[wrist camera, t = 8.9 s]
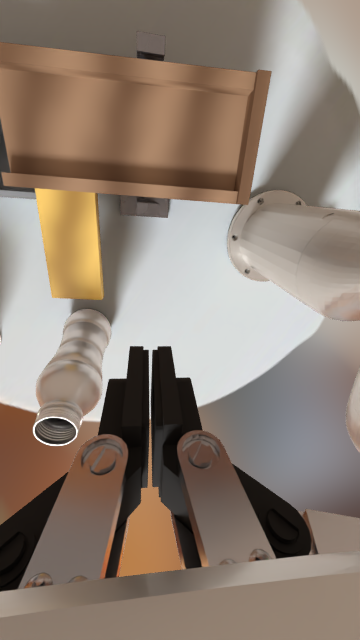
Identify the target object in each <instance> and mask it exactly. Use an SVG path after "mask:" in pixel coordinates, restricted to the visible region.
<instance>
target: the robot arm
mask: <svg viewBox="0 0 360 640" xmlns="http://www.w3.org/2000/svg"><path fill="white" fill-rule="evenodd" d="M258 199H259V203H258V202H257V201H258ZM295 204H296V205H295ZM233 235H234V238H232V236H233ZM227 249H228V255H229V258H230V260H231V263H232V264H233V266H234V267H235V269H236V270H238V271H239V272H240V273H241V274H242V275H243V276H245V277H247V278H249V279H251V280H255V281H271V282H273V283H274V284H276V285H277V286H279V287H280V288H282V289H283V290H284V291H286V292H287V293H289V294H290V295H292V296H293V297H295V298H296V299H298V300H299V301H301V302H302V303H304V304H305V305H307V306H308V307H310V308H311V309H313V310H314V311H316V312H317V313H319V314H321V315H323V316H325V317H328V318H330V319H334V320H340V321H358V320H360V211H356V210H345V209H335V208H325V207H315V206H307V205H306V204H305V202H304V201H303V200H302V199H301V198H300V197H299V196H297V195H295V194H293V193H291V192H288V191H283V190H272V191H266V192H263V193H260V194H258V195H256V196H254V197H253V198H251V199H250V200H249V204H248V205H243V206H242V207H241V208H240V210H239V211H238V212H237V213H236V215H235V217H234V219H233V220H232V223H231V225H230V228H229V232H228V237H227ZM245 270H246V271H245ZM346 426H347V430H348V433H349V436H350V438H351V440H352V442H353V443H354V445H355V447H356V448H357V450H358V451H359V452H360V368H359V371H358V373H357V376H356V379H355V382H354V385H353V387H352V391H351V394H350V397H349V401H348V404H347V408H346ZM151 436H152V483H153V485H152V486H153V487H159V497H161V502H162V503H163V504H164V505H165V506H166V507H167V508H168V509H169V510H170V511H171V519H172V524H173V528H174V534H175V538H176V543H177V548H178V553H179V557H180V562H181V567H182V570H175V571H167V572H158V573H149V574H141V575H133V576H124V577H119V574H120V568H121V563H122V557H123V552H124V546H125V541H126V536H127V530H128V525H129V516H130V514H131V513H132V512H133V511H134V510H135V509H136V508H137V506H138V505H139V504H140V502H141V488H147V484H148V454H149V453H148V452H149V350H143V346H130V351H129V361H128V370H127V379H109V382H108V386H107V392H106V397H105V402H104V407H103V412H102V417H101V422H100V427H99V432H98V436H95V437H93V438H91V439H90V440H88V441H86V442H85V443H84V444H83V445H82V446H81V447H80V449H79V450H78V452H77V454H76V456H75V458H74V461H73V463H72V465H71V468H70V470H69V472H67V473H66V474H65V475H64V476H63V477H61V478H60V479H59V480H57V481H56V482H55V483H53V484H52V485H51V486H50V487H48V488H47V489H46V490H44V491H43V492H42V493H41V494H39V495H38V496H37V497H36V498H34V499H33V500H32V501H31V502H29V503H28V504H27V505H26V506H24V507H23V508H22V509H20V510H19V511H18V512H17V513H15V514H14V515H13V516H12V517H10V518H9V519H8V520H6V521H5V522H4V523H3V524H1V525H0V640H360V518H354V517H349V516H343V515H338V514H332V513H326V512H321V511H315V510H309V509H305V511H304V512H300V511H297V510H296V509H295V508H294V507H292V506H291V505H290V504H289V503H287V502H286V501H285V500H283V499H282V498H280V497H279V496H277V495H276V494H275V493H273V492H272V491H270V490H269V489H268V488H266V487H265V486H263V485H262V484H260V483H259V482H258V481H256V480H255V479H253V478H252V477H250V476H249V475H248V474H246V473H245V472H243V471H242V470H240V469H239V468H238V467H236V466H235V465H233V464H232V463H231V461H230V458H229V456H228V454H227V453H226V450H225V448H224V446H223V444H222V443H221V441H220V440H219V439H218V438H217V437H216V436H214V435H213V434H211V433H209V432H206V431H203V430H202V426H201V422H200V417H199V413H198V409H197V404H196V400H195V396H194V391H193V387H192V383H191V379H190V378H176V376H175V369H174V363H173V356H172V350H171V346H158V350H153V353H152V383H151Z"/></svg>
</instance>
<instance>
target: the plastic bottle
mask: <svg viewBox="0 0 360 640" xmlns="http://www.w3.org/2000/svg"><path fill="white" fill-rule="evenodd" d="M110 339H111V327H110V323H109V321H108V319H107V318H106V317H105V316H104V315H103V314H102V313H100V312H98V311H96V310H93V309H81V310H78V311H76V312H74V313H73V314H72V315H71V316H70V317H69V318H68V319H67V320H66V322H65V325H64V329H63V337H62V341H61V344H60V347H59V349H58V350H57V352H56V354H55V356H54V357H53V358H52V360H51V361H50V362H49V363H48V365H47V366H46V367H45V368H44V370H43V371H42V373H41V374H40V376H39V378H38V379H37V383H36V397H37V400H38V403H39V405H40V407H41V408H40V409H39V411H38V413H37V419H36V421H35V423H34V426H33V434H34V436H35V437H36V438H37V439H38V440H39V441H40V442H42V443H44V444H47V445H52V446H61V445H66V444H69V443H70V442H72V441H73V440H75V438H76V437H77V435H78V432H79V428H80V426H81V424H82V421H83V416H85V415H86V414H88V413H89V412H90V411H92V410H93V409H94V408H95V406H96V405H97V403H98V402H99V400H100V398H101V395H102V386H103V384H102V359H103V355H104V352H105V349H106V347H107V346H108V344H109V341H110Z"/></svg>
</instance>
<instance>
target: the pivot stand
mask: <svg viewBox="0 0 360 640" xmlns="http://www.w3.org/2000/svg"><path fill="white" fill-rule="evenodd" d="M164 55H165V36H161V35H156V34H150V33H145V32H139V31H137V58H138V59H146V60H155V61H163V60H164ZM168 204H169V199H167V198H154V197H141V196H128V195H120V209H121V215H131V216H146V217H162V218H168Z"/></svg>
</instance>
